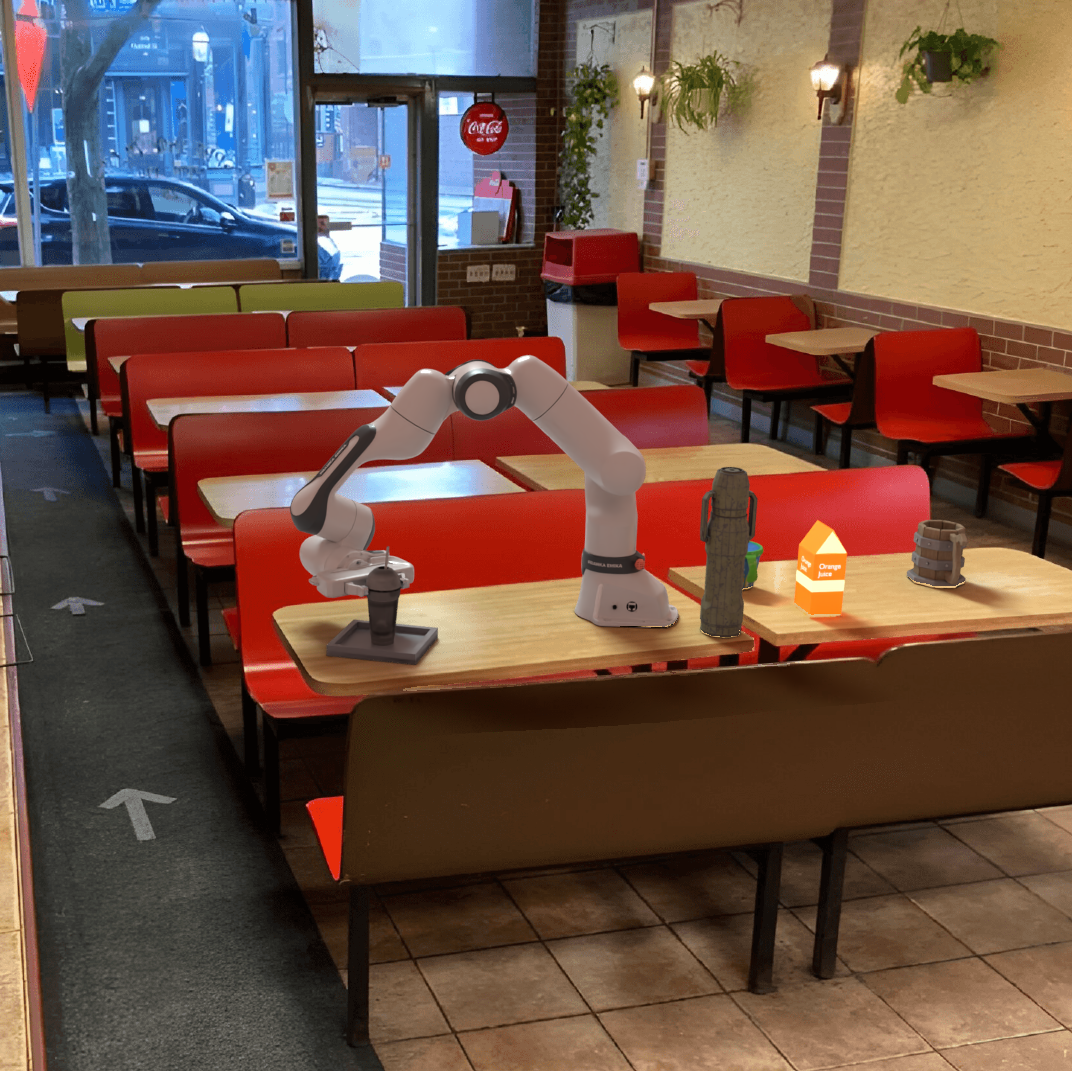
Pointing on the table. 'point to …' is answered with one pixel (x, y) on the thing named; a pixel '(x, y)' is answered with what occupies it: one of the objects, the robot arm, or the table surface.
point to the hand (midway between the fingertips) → (386, 588)
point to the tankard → (938, 553)
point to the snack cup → (751, 564)
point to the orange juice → (820, 571)
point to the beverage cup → (383, 603)
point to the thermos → (726, 550)
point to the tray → (404, 650)
